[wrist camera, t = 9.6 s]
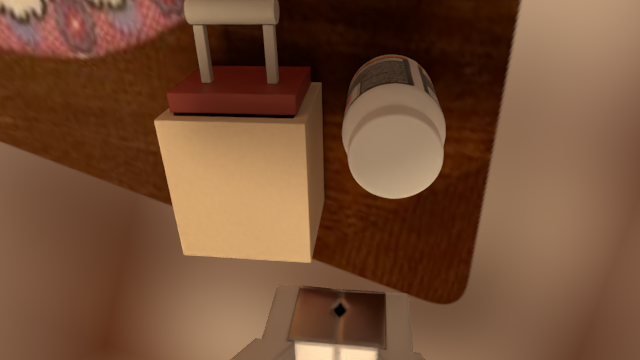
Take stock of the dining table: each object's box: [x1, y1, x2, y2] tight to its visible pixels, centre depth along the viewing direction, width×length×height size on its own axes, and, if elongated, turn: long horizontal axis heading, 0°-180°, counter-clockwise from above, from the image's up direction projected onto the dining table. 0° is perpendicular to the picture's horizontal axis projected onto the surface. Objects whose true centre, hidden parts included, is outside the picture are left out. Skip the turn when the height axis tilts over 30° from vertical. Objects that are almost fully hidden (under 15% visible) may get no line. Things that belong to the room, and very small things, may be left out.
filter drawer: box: [167, 0, 311, 119], centre depth 28 cm, size 13×7×6 cm, turn 1°
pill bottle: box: [342, 55, 446, 198], centre depth 26 cm, size 6×6×10 cm
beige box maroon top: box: [154, 82, 324, 263], centre depth 30 cm, size 10×9×8 cm
